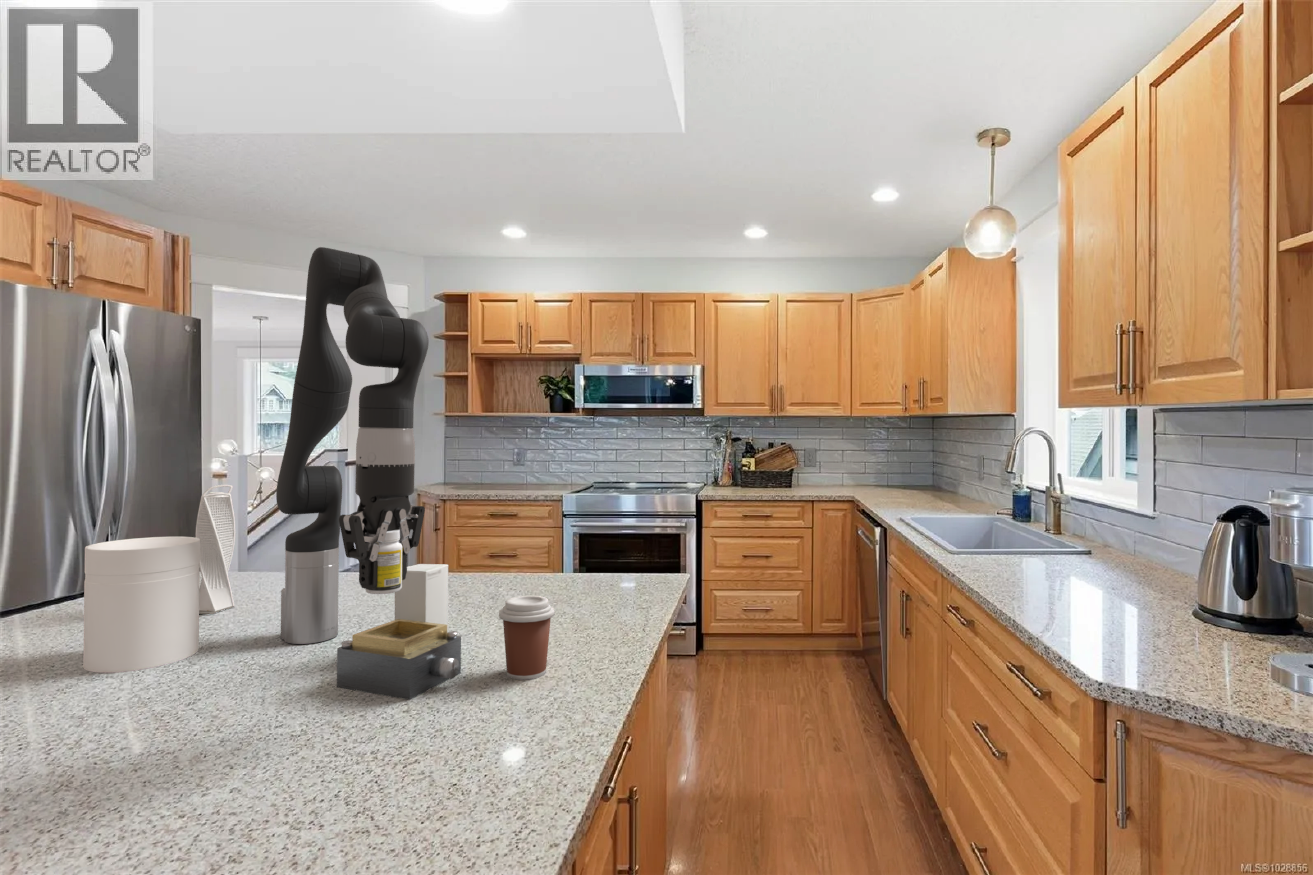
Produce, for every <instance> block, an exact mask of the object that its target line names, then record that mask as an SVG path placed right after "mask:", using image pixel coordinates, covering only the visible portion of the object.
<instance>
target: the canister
mask: <svg viewBox="0 0 1313 875" xmlns="http://www.w3.org/2000/svg"><path fill="white" fill-rule="evenodd" d="M199 563H200V539H199V538H196V537H195V536H193V537H192V536H153V537H152V536H151V537H139V538H138V537H137V538H126V539H118V540H108V541H102V542H98V543H92V544H89V545H85V547H84V574H85V575H84V578H85V579H84V582H83V583H84V584H83V585H84V586H83V587H84V588H83V590H84V591H83V592H84V594H83V650H82V652H83V657H82V658H83V661H82V665H83V666H82V668H83V669H84V670H86V671H87V672H92V673H93V672H94V673H99V674H100V673H101V674H102V673H103V674H104V673H105V674H106V673H109V674H110V673H113V674H115V673H125V672H126V673H128V672H136V671H141V670H142V671H143V670H147V669H153V668H157V667H163V666H166V665H170V664H174V663H176V662H179V661H182V660H185V659H188V658H190V657H192V656H194V655H195V654H196V653H197V652H198V651H199V650H200V647H199V643H200V639H199V638H200V615H199V588H200V577H201V572H200V568H199Z"/></svg>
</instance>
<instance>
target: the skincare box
mask: <svg viewBox="0 0 1313 875" xmlns="http://www.w3.org/2000/svg"><path fill="white" fill-rule="evenodd" d="M396 619H404V620H412V621H420V622H429V623H437V624H445V625H447V633H448V632H449V564H445V563H443V564H441V563H440V564H437V563H436V564H435V563H418V564H414V565H407V573H406V578H405V579H404V580H402V588H401V590H399V591H397V592H394V620H396Z"/></svg>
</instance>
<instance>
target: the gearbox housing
mask: <svg viewBox="0 0 1313 875" xmlns="http://www.w3.org/2000/svg"><path fill="white" fill-rule="evenodd" d="M351 636H352V638H351V639H352V640H350V639H348V640H344V641H342V642H341V646H340V647H337V648H336V657H337V658H336V688H341V689H345V690H346V689H347V690H350V691H359V692H363V693H370V694H373V695H374V694H375V695H380V696H386V697H392V698H399V699H403V700H404V699H405V700H409V701H410V700H413V699H414V698H417V696H420V695H422V694H424V693H425V692H428V691H430V690H431V689H433V688H435V687H437V686H439V685H441V684H443V683H445V682H446V681H448V680H453V679H454V678H456V676H457V675H460V674H461V673H462V636H459V635H458V631H456V630H455V631H448V633H447V625H445V624H437V623H429V622H420V621H412V620H404V619H396V620H395V619H393V620H390V621H388V622H385V623H383V624H380V625H377V626H374V627H371V628H368V629H365V630H363V631H360V632H357V633H354V634H352V635H351Z"/></svg>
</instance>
